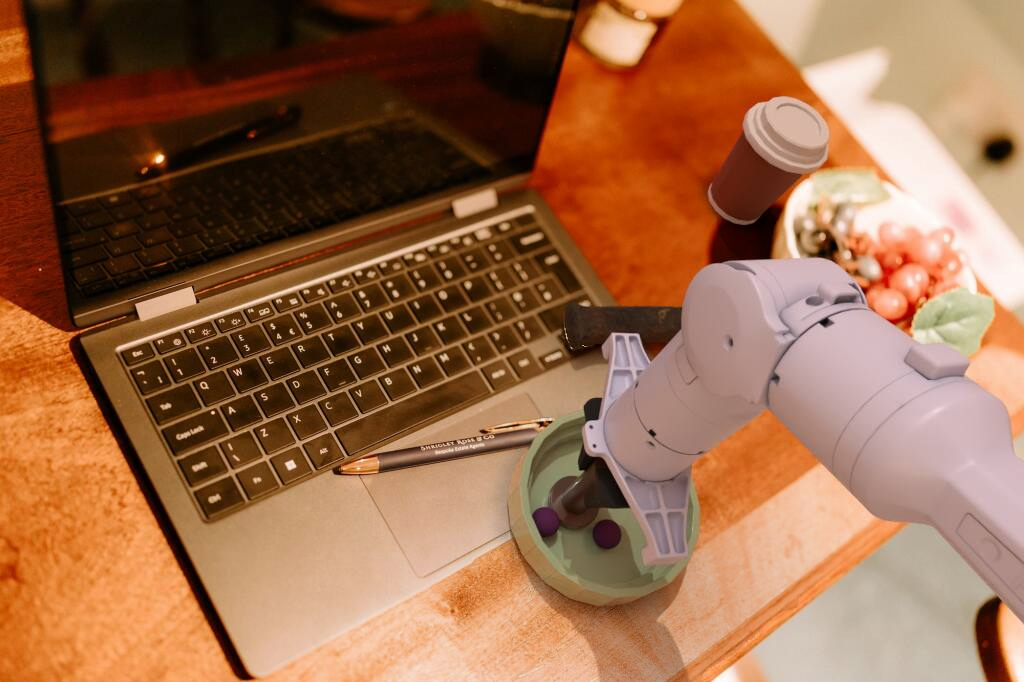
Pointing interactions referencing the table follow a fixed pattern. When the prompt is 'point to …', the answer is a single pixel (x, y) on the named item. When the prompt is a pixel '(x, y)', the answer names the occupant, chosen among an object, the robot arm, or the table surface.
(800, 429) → the robot arm
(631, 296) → the table surface
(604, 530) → the berry
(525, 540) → the bowl
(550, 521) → the berry
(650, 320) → the hand tool
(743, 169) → the coffee cup
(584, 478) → the masher
